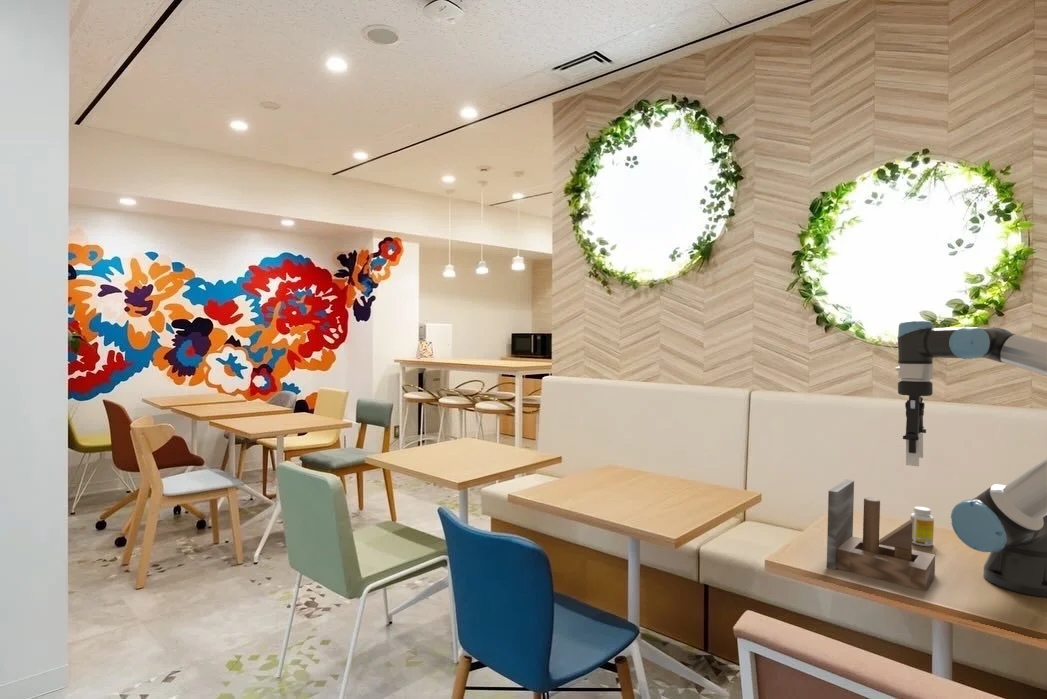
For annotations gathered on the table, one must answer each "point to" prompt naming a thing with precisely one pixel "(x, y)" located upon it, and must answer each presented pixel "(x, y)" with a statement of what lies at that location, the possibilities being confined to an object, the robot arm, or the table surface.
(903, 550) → the wooden block
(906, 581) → the post block
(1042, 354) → the robot arm
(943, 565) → the table surface
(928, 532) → the supplement bottle
